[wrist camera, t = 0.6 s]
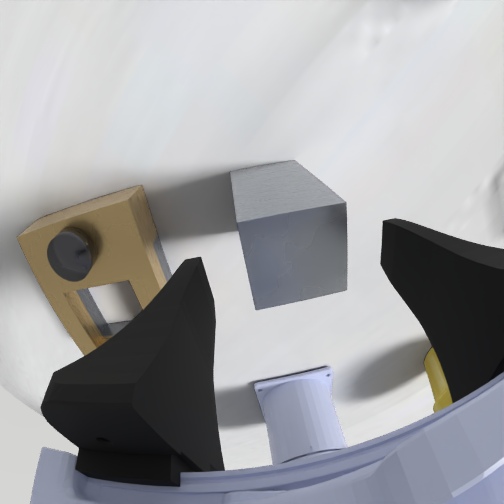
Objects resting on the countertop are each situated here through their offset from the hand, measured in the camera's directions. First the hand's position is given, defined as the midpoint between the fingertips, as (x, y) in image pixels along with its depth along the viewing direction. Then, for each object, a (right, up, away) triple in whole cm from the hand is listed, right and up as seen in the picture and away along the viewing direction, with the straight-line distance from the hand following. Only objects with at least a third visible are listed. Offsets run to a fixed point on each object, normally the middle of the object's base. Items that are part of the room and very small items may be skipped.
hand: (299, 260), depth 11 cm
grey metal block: (-1, +4, +7) cm, 8 cm away
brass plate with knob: (-12, -3, +10) cm, 15 cm away
